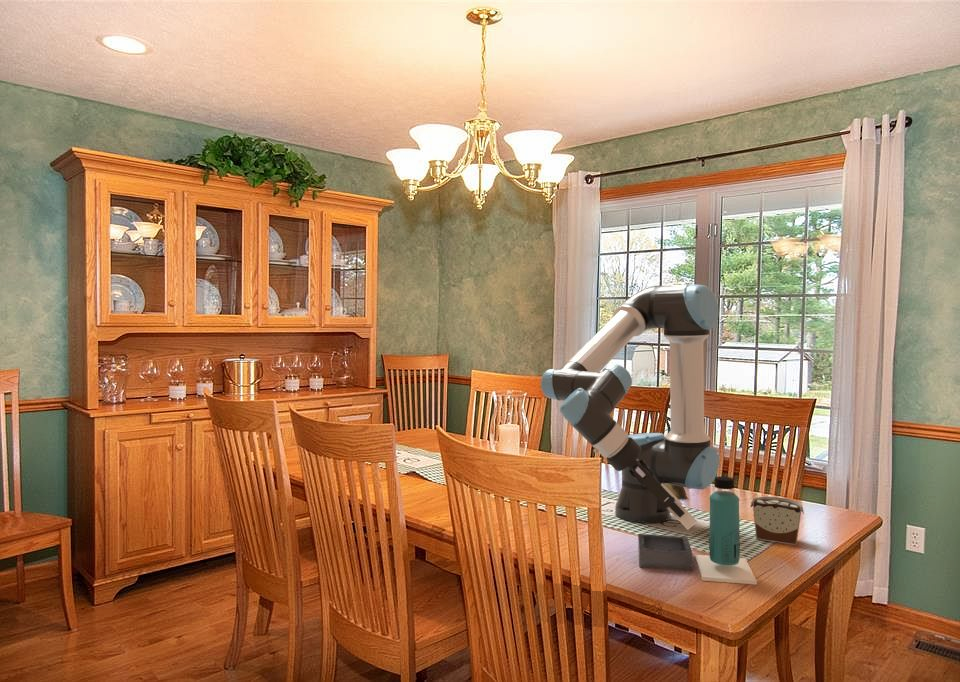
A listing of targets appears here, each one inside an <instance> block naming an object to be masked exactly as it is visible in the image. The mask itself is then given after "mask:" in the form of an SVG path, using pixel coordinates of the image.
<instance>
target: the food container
mask: <svg viewBox="0 0 960 682" xmlns="http://www.w3.org/2000/svg"><path fill="white" fill-rule="evenodd" d="M750 508H752V509H753V519H754V529H755V530H754V531H755V532H754V533H755V539H756V540H759V539H760V541H766V542H772V541H773V543H778V542H779V543H781V544H786V545H790V546H791V545H793V546H797V544H798V537H799V529H800V522H801V515H802V514H803V515H804V514H805V512H804V507H803V505H802V503H800V502H799V501H797V500H794V499H789V498H787V497H779V496H759V497H754V498H752V501H751V503H750Z"/></svg>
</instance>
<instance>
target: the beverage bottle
mask: <svg viewBox="0 0 960 682" xmlns="http://www.w3.org/2000/svg"><path fill="white" fill-rule="evenodd" d="M734 480H735V479H734V478H733V477H730V476H724V475H723V476H722V475H721V476H720V475H719V476H716V477H715V479H714V488H716V489H720V490H716V491H714V492H713V493H712V494H711V495H710V496H709V528H708V530H709V536H708V542H709V543H708V546H709V547H708V548H709V549H708V554H709V556H710V560H711V561H712V562H714V563H717V564H720V565H736V564H738V563H739V558H741V552H740V551H741V541H740V540H741V538H740V537H741V536H740V535H741V532H740V530H741V529H740V498H739V496H738V495H737V494H736V493H734V492H732V491H728V490H733V489H735V481H734Z"/></svg>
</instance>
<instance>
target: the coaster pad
mask: <svg viewBox="0 0 960 682" xmlns="http://www.w3.org/2000/svg"><path fill="white" fill-rule="evenodd" d="M694 559H695V563H696V565H697V569H698V571H699V575H700V578H701V581H703V582H715V583H716V582H717V583H729V584H742V585H743V584H744V585H758V580H757V578H756V577H755V574H754V572H753V571H752V569H751V567H750V565H749V563H748V561H747V559H746V558H745V557H740V558H739V563H738V564H736V565H720V564H717V563H714V562H712V561H711V560H710V555H709V554H708V555H706V554H695V555H694Z"/></svg>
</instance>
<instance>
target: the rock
mask: <svg viewBox="0 0 960 682" xmlns="http://www.w3.org/2000/svg"><path fill="white" fill-rule="evenodd" d="M664 485H665V486H666V487H667V488H668V489H669V490H670V491H671V492H672V493H673V494H674V495H675V496H676V497H677V498H678V499H688V496H687V492H686V488H685V487H682V486H677V485H672V484H667V483H664Z"/></svg>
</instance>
